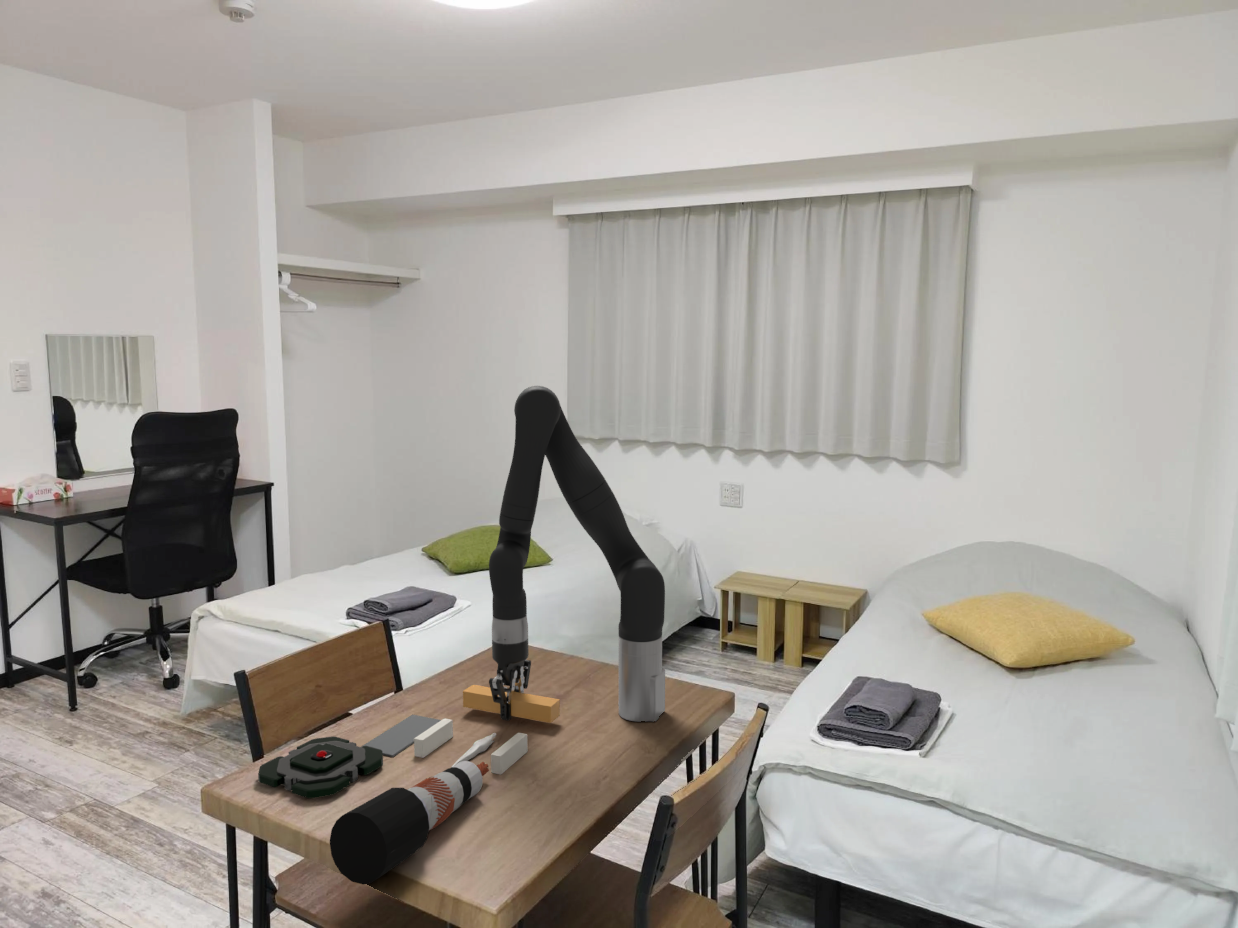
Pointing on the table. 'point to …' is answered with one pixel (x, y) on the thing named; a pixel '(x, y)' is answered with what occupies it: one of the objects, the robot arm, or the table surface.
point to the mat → (401, 735)
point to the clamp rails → (444, 732)
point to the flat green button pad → (320, 767)
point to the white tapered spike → (477, 748)
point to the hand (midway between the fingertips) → (511, 714)
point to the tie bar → (513, 704)
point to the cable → (399, 822)
